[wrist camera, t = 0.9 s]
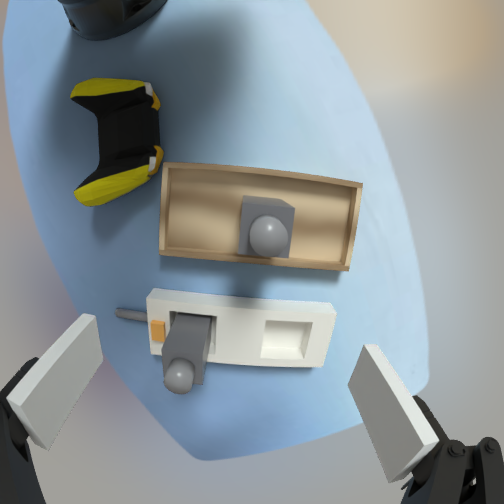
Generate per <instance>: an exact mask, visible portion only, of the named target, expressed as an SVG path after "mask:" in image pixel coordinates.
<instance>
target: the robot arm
mask: <svg viewBox="0 0 504 504" xmlns="http://www.w3.org/2000/svg"><path fill="white" fill-rule="evenodd" d="M58 1H59V2H60V3H62V5H63V8H64V10H65V13H66V15H67V17H68V19H69V23H70V25H71V27H72V28H73V30H74V31H75V32H77V33H78V34H79V35H81V36H82V37H84V38H86V39H89V40H104V39H109V38H113V37H116V36H119V35H121V34H124V33H126V32H128V31H130V30H132V29H134V28H135V27H137V26H139V25H140V24H142V23H143V22H145V21H146V20H147V19H149V18H150V17H151V16H152V15H153V14H155V13H156V12H157V11H158V10H159V9H160V8H161V7H162V5H163V4H164V3H165V2H166V0H58ZM103 360H104V359H103V354H102V349H101V344H100V339H99V333H98V327H97V321H96V316H94V315H89V314H85V313H83V314H82V315H81V316H80V317H79V318H78V319H77V320H76V321H75V322H74V323H73V324H72V325H71V326H70V327H69V328H68V329H67V330H66V331H65V332H64V333H63V334H62V335H61V336H60V337H59V339H58V340H57V341H56V342H55V343H54V344H53V345H52V346H51V347H50V348H49V349H48V350H47V351H46V352H45V353H44V355H43V356H42V357H41V358H40V359H39V358H37V357H35V358H33V359H31V360H29V361H27V362H26V363H25V364H24V365H23V366H22V367H21V369H20V370H19V371H18V372H17V373H16V374H15V376H14V377H13V378H12V379H11V380H10V381H9V382H8V383H7V384H6V386H5V387H4V388H3V389H2V390H1V391H0V504H46V502H45V500H44V497H43V494H42V491H41V488H40V485H39V482H38V479H37V476H36V472H35V469H34V465H33V462H32V458H31V454H30V449H29V445H28V443H27V440H26V439H27V437H28V436H30V438H31V439H32V441H33V442H34V443H35V444H36V445H38V446H40V447H42V448H44V449H46V450H48V451H49V449H50V448H51V446H52V444H53V442H54V440H55V439H56V437H57V435H58V433H59V431H60V430H61V428H62V426H63V424H64V423H65V421H66V419H67V418H68V416H69V414H70V412H71V411H72V409H73V408H74V406H75V404H76V403H77V401H78V399H79V398H80V396H81V394H82V393H83V391H84V390H85V388H86V386H87V385H88V383H89V382H90V380H91V379H92V377H93V375H94V374H95V372H96V371H97V369H98V367H99V366H100V365H101V363H102V361H103ZM348 387H349V389H350V392H351V394H352V396H353V398H354V401H355V403H356V405H357V408H358V410H359V412H360V415H361V417H362V419H363V422H364V424H365V426H366V429H367V431H368V433H369V436H370V438H371V440H372V443H373V445H374V448H375V450H376V453H377V455H378V458H379V460H380V463H381V465H382V467H383V470H384V473H385V475H386V478H387V480H388V483H391V482H395V481H398V480H401V479H404V478H405V477H406V476H407V475H408V474H409V473H410V472H412V474H413V477H412V478H411V479H410V480H409V481H408V482H407V483H406V484H405V485H403V487H402V488H401V490H403V489H404V488H406V487H407V486H408V487H407V490H406V492H405V494H404V497H403V499H402V501H401V504H504V462H503V458H502V453H501V448H500V445H499V443H498V442H497V441H496V440H495V439H494V438H492V437H485V438H483V439H482V440H481V441H480V442H479V443H478V445H476V446H465V445H464V444H463V443H462V442H460V441H458V440H449V438H448V437H447V435H446V434H445V432H444V431H443V429H442V428H441V426H440V424H439V423H438V421H437V420H436V418H434V415H433V414H432V412H431V411H430V409H429V408H428V406H427V405H426V403H425V402H424V401H423V400H422V399H420V398H419V397H418V396H417V395H416V396H411V394H410V393H409V391H408V390H407V388H406V387H405V385H404V384H403V382H402V381H401V379H400V378H399V376H398V375H397V373H396V372H395V370H394V369H393V367H392V366H391V364H390V363H389V361H388V360H387V358H386V357H385V356H384V354H383V353H382V351H381V350H380V348H379V347H378V345H377V344H364V345H363V348H362V351H361V353H360V356H359V359H358V361H357V364H356V366H355V369H354V371H353V373H352V376H351V378H350V381H349V383H348ZM475 478H476V484H475V485H473V480H474V479H475Z"/></svg>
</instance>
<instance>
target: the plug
mask: <svg viewBox="0 0 504 504" xmlns="http://www.w3.org/2000/svg"><path fill="white" fill-rule="evenodd" d="M294 214H295V208H294V207H293V206H291V205H290V204H288V203H286V202H285V201H283V200H282V199H278V198H268V197H259V196H248V195H243V203H242V214H241V224H240V235H239V246H238V254H243V255H254V256H265V257H277V258H288V259H289V252H290V245H291V238H292V230H293V222H294Z"/></svg>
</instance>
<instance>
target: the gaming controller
mask: <svg viewBox="0 0 504 504" xmlns="http://www.w3.org/2000/svg"><path fill="white" fill-rule="evenodd" d="M70 99H71V100H72V101H74V102H76V103H78V104H79V105H81V106H83V107H85V108H86V109H88V110H90V111H91V112H93V113H94V114H95V115H96V117H97V120H98V136H99V154H100V161H99V166H98V168H97V170H96V171H95V172H93V173H92V174H91V175H90V176H89V177H87V178H86V179H85V180H84V181H83V182H82V183H81V184H80V185H79V187H78V188H77V189H76V190H75V191H74V195H75V197H76V199H77V200H78V201H79V202H80V203H82V204H83V205H85V206H89V207H92V206H97V205H102V204H106V203H108V202H110V201H112V200H114V199H117V198H119V197H121V196H123V195H125V194H127V193H129V192H131V191H133V190H135V189H136V188H138V187H140V186H141V185H143V184H145V183H146V182H148V181H149V180H150V179H151V178H152V176H153V174H155V173H157V171H158V168H159V166H160V163H161V160H162V158H163V154H164V151H163V150H162V149H161V147H160V135H159V119H158V110H159V108H160V106H161V104H160V101H159V99H158V97H157V96H156V94H155V92H154V91H153V89H152V87H151V84H150V83H149V82H142V81H141V80H140V81H138V80H128V79H112V78H92V79H89V80H86V81H83V82H80V83H78V84H76V86H75V87H74V89H73V90H72V92H71V95H70Z"/></svg>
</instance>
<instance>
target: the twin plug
mask: <svg viewBox="0 0 504 504" xmlns="http://www.w3.org/2000/svg"><path fill="white" fill-rule="evenodd" d="M211 332H212V315H203V314H193V313H185V312H178V313H177V315H176V317H175V320H174V322H173V324H172V326H171V328H170V331H169V333H168V335H167V337H166V339H165V342H164V344H163V346H162V348H161V352H162V363H163V373H164V385H165V387H166V388H167V389H168V390H169V391H171V392H173V393H176V394H186V393H188V392H189V391H190V390H191V388H192V384H200V385H203V379H204V374H205V369H206V363H207V358H208V353H209V347H210V342H211Z"/></svg>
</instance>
